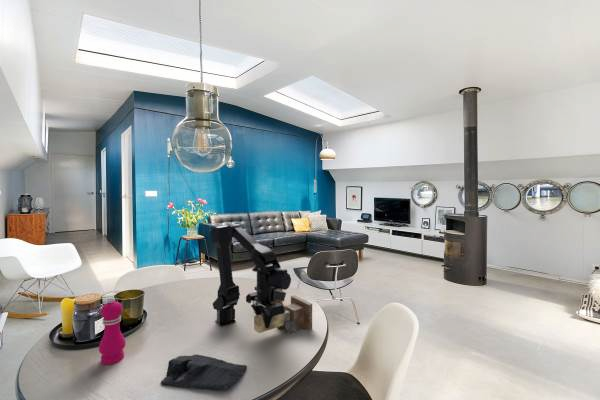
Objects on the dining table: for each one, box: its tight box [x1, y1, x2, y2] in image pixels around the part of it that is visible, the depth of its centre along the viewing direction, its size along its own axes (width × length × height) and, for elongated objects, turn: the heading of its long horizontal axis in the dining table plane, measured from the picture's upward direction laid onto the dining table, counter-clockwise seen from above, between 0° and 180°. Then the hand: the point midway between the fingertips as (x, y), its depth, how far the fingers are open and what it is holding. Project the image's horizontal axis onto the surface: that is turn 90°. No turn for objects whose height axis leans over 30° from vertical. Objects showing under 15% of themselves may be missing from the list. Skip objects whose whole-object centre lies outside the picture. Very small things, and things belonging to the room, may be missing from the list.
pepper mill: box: [98, 297, 126, 366], centre depth 95 cm, size 7×7×20 cm
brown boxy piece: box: [277, 295, 313, 335], centre depth 118 cm, size 10×12×10 cm
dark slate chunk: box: [160, 354, 248, 390], centre depth 87 cm, size 15×22×5 cm
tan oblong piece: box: [253, 310, 290, 334], centre depth 112 cm, size 14×4×5 cm, turn 127°
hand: (264, 326), depth 110 cm, fingers closed on tan oblong piece, 3 cm apart
